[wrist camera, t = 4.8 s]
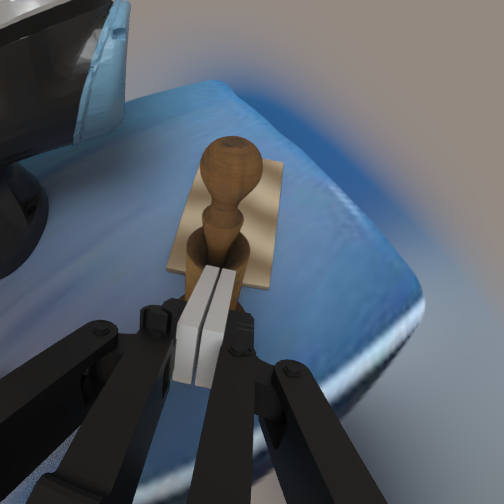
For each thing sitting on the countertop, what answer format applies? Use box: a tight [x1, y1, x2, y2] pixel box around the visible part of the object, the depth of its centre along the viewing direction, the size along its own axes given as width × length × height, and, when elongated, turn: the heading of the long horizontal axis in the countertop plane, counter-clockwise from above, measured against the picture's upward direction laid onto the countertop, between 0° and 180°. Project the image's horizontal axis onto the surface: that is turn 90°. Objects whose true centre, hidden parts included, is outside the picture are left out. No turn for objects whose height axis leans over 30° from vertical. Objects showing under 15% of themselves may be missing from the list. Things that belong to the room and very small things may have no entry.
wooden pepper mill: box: [179, 136, 263, 364], centre depth 20 cm, size 7×6×18 cm
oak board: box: [166, 149, 283, 290], centre depth 33 cm, size 17×10×1 cm, turn 172°
